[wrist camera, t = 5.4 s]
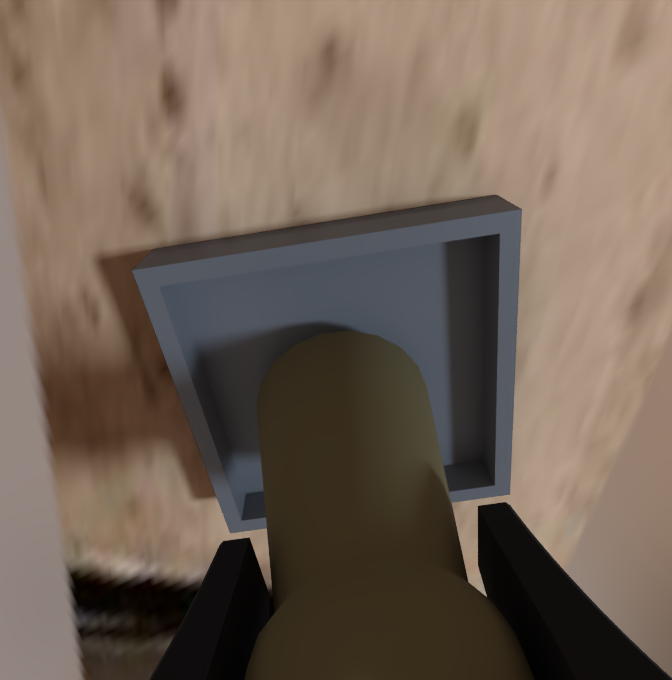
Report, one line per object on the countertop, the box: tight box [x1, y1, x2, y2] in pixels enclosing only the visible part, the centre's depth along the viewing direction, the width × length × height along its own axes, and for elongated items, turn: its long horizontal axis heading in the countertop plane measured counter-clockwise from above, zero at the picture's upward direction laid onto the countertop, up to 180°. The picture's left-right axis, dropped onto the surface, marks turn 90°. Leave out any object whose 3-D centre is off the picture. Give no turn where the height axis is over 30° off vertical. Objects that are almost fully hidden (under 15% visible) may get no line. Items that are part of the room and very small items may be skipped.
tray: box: [132, 195, 522, 533], centre depth 17 cm, size 11×11×2 cm
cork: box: [244, 331, 535, 680], centre depth 12 cm, size 6×6×11 cm
